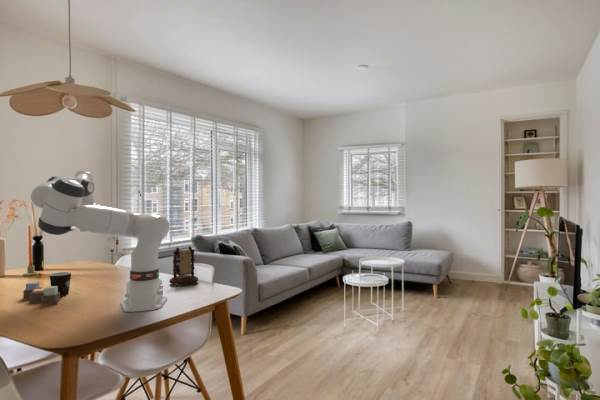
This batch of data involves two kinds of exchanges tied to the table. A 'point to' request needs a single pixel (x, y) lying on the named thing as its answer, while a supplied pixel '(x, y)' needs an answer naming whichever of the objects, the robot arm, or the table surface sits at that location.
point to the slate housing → (28, 293)
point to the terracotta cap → (38, 291)
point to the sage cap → (50, 290)
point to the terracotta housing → (36, 297)
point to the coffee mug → (61, 282)
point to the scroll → (184, 267)
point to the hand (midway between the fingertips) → (84, 231)
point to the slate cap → (32, 285)
